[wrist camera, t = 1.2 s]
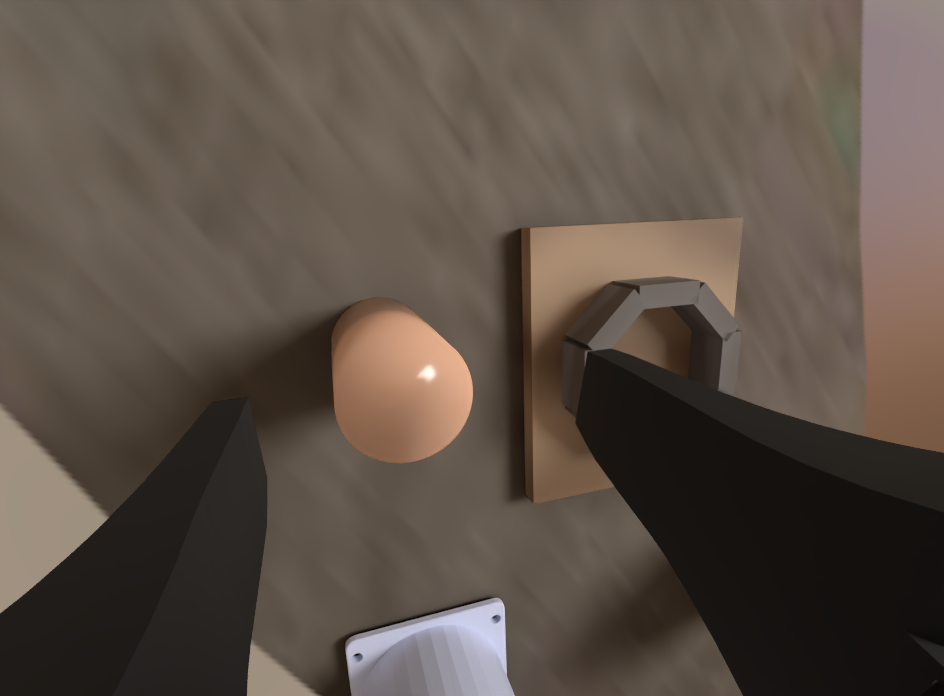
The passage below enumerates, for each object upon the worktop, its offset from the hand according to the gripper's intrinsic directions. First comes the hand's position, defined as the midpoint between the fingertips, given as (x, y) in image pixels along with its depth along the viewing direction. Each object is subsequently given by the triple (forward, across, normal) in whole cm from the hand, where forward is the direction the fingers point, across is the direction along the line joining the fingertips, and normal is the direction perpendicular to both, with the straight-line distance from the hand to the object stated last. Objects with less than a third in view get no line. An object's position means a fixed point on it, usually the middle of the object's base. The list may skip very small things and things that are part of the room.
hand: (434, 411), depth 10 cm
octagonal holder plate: (+9, -12, +6) cm, 16 cm away
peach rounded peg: (+10, 0, +4) cm, 11 cm away
